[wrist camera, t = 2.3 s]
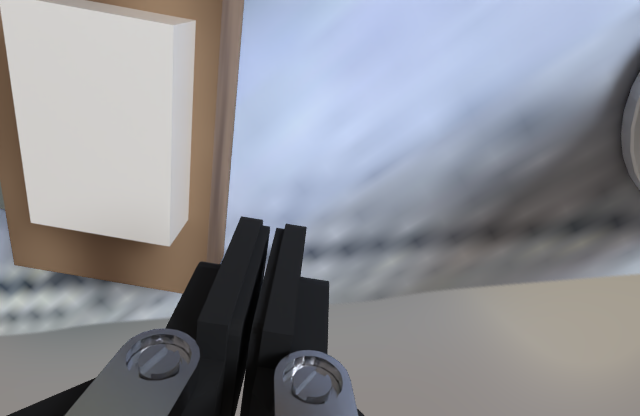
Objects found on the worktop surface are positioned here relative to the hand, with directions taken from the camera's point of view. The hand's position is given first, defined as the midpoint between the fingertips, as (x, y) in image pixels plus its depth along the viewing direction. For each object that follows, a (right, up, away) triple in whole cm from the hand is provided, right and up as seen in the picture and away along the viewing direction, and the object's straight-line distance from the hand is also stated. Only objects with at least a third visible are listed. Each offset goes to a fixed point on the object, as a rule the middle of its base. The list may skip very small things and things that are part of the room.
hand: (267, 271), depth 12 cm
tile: (-7, +6, +8) cm, 12 cm away
